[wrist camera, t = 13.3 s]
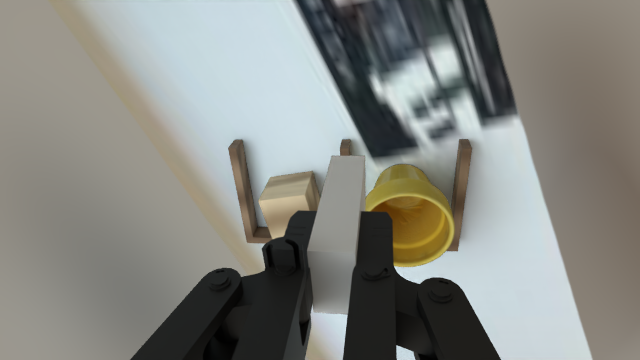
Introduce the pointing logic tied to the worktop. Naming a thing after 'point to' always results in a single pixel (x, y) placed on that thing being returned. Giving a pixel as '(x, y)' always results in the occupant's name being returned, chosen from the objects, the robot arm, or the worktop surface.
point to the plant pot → (413, 215)
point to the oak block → (287, 199)
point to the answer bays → (241, 172)
